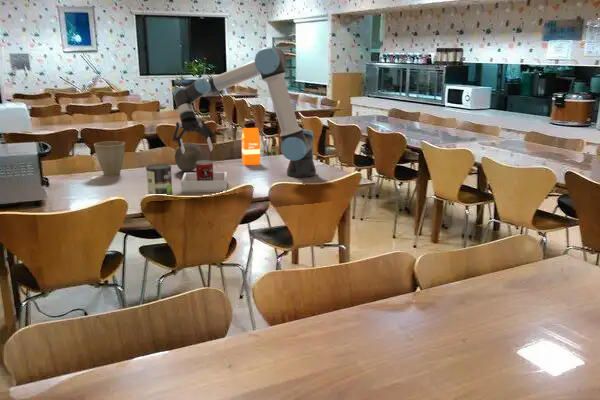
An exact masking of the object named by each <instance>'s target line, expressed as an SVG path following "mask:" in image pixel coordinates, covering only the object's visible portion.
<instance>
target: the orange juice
mask: <svg viewBox="0 0 600 400" xmlns="http://www.w3.org/2000/svg"><path fill="white" fill-rule="evenodd" d="M260 140H261V139H260V134H259V128H258V127H243V128H242V132H241V163H242V164H243V166H244V165H245V166H253V165H255V166H256V165H261V141H260Z"/></svg>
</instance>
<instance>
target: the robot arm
mask: <svg viewBox="0 0 600 400" xmlns="http://www.w3.org/2000/svg"><path fill="white" fill-rule="evenodd" d="M286 64H287V56H286V54H285V52H284V51H283V50H282V49H280V48H278V47H269V46H267V47H264V48H262V49H259V51H257V53H256V55H255V57H254V60H252V61H249V62H248V63H244V64H242V65H240V66H237V67H235V68H233V69H230V70H228V71H225V72H223V73H220V74H218V75H214V76H212V77H210V78H208V79H207V78H205V77H200V78H198V79H196V80H195V81H194V82H192V83H191V84H190V85H188V86H187V87H185V86H180V87H177V88H175V89H174V90H173V93H172V95H173V99H174V101H175V105H176V108H177V113H178V117H179V119H180V122H176V123H175V130H174V133H173V137H172V142H176V143H177V146H178V147H181V150H182V154H184V152H185V149H184V145H183V144H184V143H183V139H182V138H183V137H184V135H185V134H186V132H188V133H190V132H193V133H194V132H195V133H199V134H200V135H201V136H202V137H204V138H206V141H207V145H208V148H209V151H210V152H213V149H214V147H213V145H214V144H213V143H214V140H213V139H214V138H215V133H214V132H213V131H212V130H211V129H210V128H209V127H208V125H206V123H205V121H203V120H201V122H198V120H197V116H196V113H195V110H194V106H193V103H194V102H196V101H197V100H199V99H200V98H202V97H206V96H212V95H214V94H216V93H219V92H220V91H222V90H225V89H228V88H230V87H234V86H235V85H236V86H237V85H238V84H241V83H243V82H246V81H248V80H251V79H254V78H256V77H259V76H261V79H262V81H263V82H265V83H266V85H267V89H268V92H269V95H270V98H271V101H272V105H273V108H274V111H275V114H276V118H277V122H278V125H279V127H280V134H279V138H280V142H281V145H280V150H281V154H282V155H283V156H284V158H285V159H287V160H289V161H288V162H289V163H288V166H287V168H286V175H287V176H290V177H294V178H309V177H308V176H311V177H314V176H313V175H315V174H316V175H317V169H316V165H315V162H314V138H315V137H314V131H313V130H310V129H303V128H302V127H300V126H299V123H298V120H297V117H296V112H295V109H294V106H293V103H292V100H291V97H290V93H289V89H288V87H287V83H286V80H285V76H286V74H287V71H286V68H285V66H286ZM180 128H183V129H182V131H181V132H180V133H179V135H178V132H179V129H180ZM316 175H315V176H316Z"/></svg>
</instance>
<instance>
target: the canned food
mask: <svg viewBox="0 0 600 400" xmlns="http://www.w3.org/2000/svg"><path fill="white" fill-rule="evenodd" d="M213 172H214V163H213V160H209V159H204V160H203V159H201V160H200V161H197V162H196V168H195V173H196V176H197V181H213Z"/></svg>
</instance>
